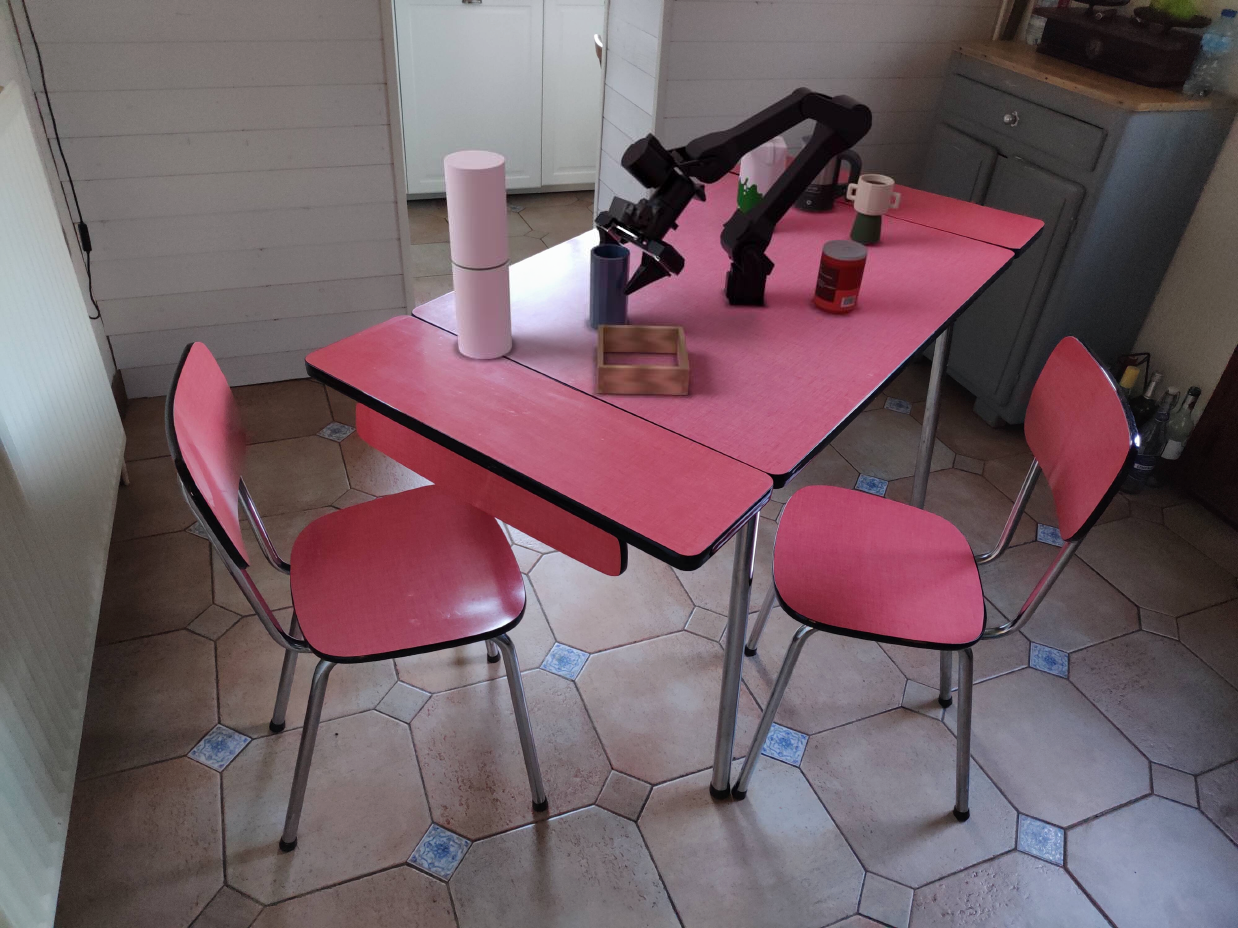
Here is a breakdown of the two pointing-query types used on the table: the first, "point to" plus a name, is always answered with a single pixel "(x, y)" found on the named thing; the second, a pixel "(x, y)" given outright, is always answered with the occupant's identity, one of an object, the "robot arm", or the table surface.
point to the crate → (642, 377)
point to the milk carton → (760, 172)
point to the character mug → (871, 206)
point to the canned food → (840, 276)
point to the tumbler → (608, 285)
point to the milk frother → (829, 182)
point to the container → (479, 251)
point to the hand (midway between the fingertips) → (608, 284)
